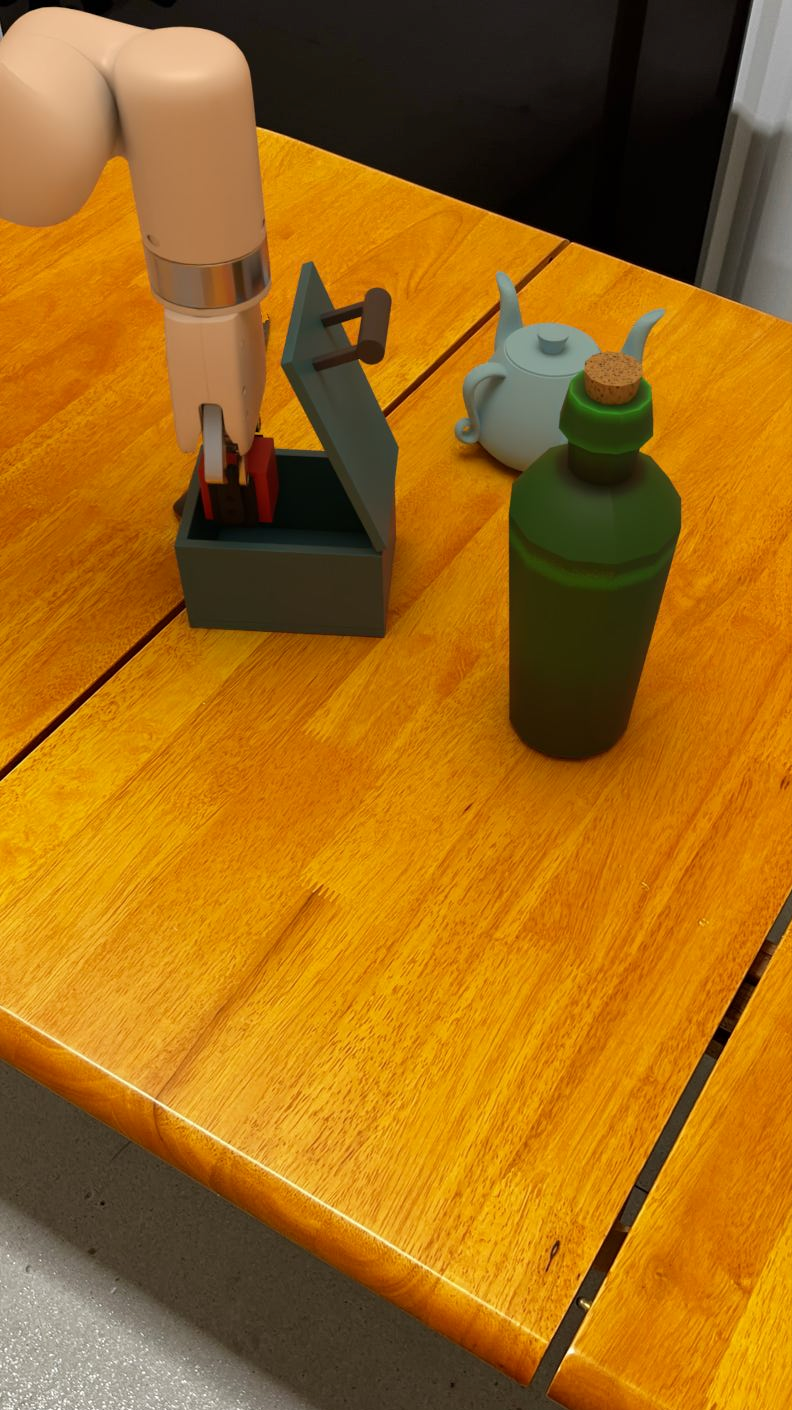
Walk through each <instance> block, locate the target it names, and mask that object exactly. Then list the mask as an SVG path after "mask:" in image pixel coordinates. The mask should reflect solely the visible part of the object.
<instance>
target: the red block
mask: <svg viewBox="0 0 792 1410" xmlns="http://www.w3.org/2000/svg"><path fill="white" fill-rule="evenodd" d="M226 438H230V437H229V435H226ZM274 439H275V438H274V437H270V436H269V437H268V436H263V437H254V439H253V443H252V446H251V448H250V450H249V451H248V452H247V457H248V468H249V477H254V481H255V489H256V497H257V505H258V513H259V522H272V520H273V515H274V510H275V505H276V501H277V496H278V491H279V482H278V473H277V464H276V455H275V448H276V447H275V446H276V445H275V440H274ZM226 462H227V463H228V464H235V465H236V466H237V455H236V453H226ZM237 467H238V466H237ZM198 475H199V481H200V487H201V493H202V499H203V505H204V511H205V517H206V519H210V520H213V514H212V508H211V502H210V496H209V490H208V484H206V482H205V467H204V450H202V454H201V458H200V462H199V466H198Z"/></svg>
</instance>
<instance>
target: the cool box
mask: <svg viewBox="0 0 792 1410" xmlns="http://www.w3.org/2000/svg"><path fill="white" fill-rule="evenodd" d="M202 450H203V443H202V444H200V446H199V450H198V454H197V458H196V462H195V465H194V467H195V469H194V468H193V470H194V473H193V472H192V473H193V476H192V475H191V477H192V480H191V479H190V480H191V484H190V483H189V484H190V488H189V487H188V488H189V492H188V495H187V499H186V503H185V507H184V510H183V514H182V518H181V519H180V522H179V526H178V530H177V533H176V537H175V540H174V545H173V547H174V553H175V559H176V564H177V568H178V573H179V579H180V583H181V588H182V589H181V590H182V595H183V599H184V606H185V609H186V615H187V619H188V620H187V621H188V626H189V628H197V629H214V630H215V629H217V630H236V631H254V632H255V631H256V632H274V633H291V634H292V633H293V634H294V633H295V634H311V635H312V634H313V635H331V636H350V637H351V636H353V637H369V638H370V637H371V638H372V637H373V638H385V636H386V629H387V620H388V612H389V611H388V610H389V603H390V593H391V585H392V575H393V568H394V559H395V550H396V540H397V517H396V516H397V513H396V506H397V505H396V484H395V485H394V494H393V502H392V511H391V519H390V528H389V536H388V545H387V550H384V551H380V552H377V551H376V549H375V547H374V545H373V543H372V542H371V540H370V538H369V536H368V534H367V532H366V530H365V528H364V526H363V524H362V522H361V520H360V518H359V516H358V514H357V512H356V511H355V509H354V507H353V505H352V503H351V501H350V499H349V497H348V495H347V493H346V491H345V489H344V487H343V485H342V483H341V481H340V480H339V478H338V476H337V474H336V472H335V470H334V468H333V466H332V464H331V462H330V460H329V458H328V456H327V454H326V452H325V450H317V449H316V450H315V449H299V448H297V449H296V448H276V447H275V455H276V464H277V473H278V482H279V491H278V496H277V501H276V505H275V510H274V515H273V520H272V522H259V523H258V526H256V527H239V526H220V525H216V524H215V523H214V520H210V519H206V517H205V511H204V505H203V499H202V493H201V487H200V481H199V475H198V466H199V462H200V458H201V454H202Z"/></svg>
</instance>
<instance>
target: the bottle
mask: <svg viewBox="0 0 792 1410" xmlns="http://www.w3.org/2000/svg"><path fill="white" fill-rule="evenodd" d="M643 370H644V366H643V364H642V365H641V364H640V363H639V362H638V361H637V360H636V358H634V357H631V356H629V355H626V354H624V353H620V351H608V350H607V351H602V353H598V354H594V355H592V356H591V357H590V358H589V359H588V360H586V361H585V368H584V370H582V371H581V372H580V373H579V374H577V375H576V376H575V377H574V378H573V379H572V380H571V381H570V384H569V388H568V391H567V394H566V397H565V400H564V403H563V406H562V409H561V412H560V419H559V429H560V430H561V432H562V433H563V434H564V435H565V437H566V438H567V439H568V443H567V444H563V445H559V446H555V447H551V448H549V449H548V450H547V451H546V452H545V453H544V454H542V455H541V456H540V457H539V458H538V459H537V460H536V461H534V462H533V463H532V464H531V465H530V466H529V467H528V468H527V469H526V470H525V471H524V472H522V473H521V474H520V475H518V477H517V478H516V479H515V480H514V481H513V482H512V483H511V489H510V490H511V491H510V497H509V507H508V708H509V709H508V716H509V717H508V720H509V721H510V723H511V724H512V726H513V728H514V729H515V731H516V732H517V734H518V736H519V738H520V739H521V740H522V742H523V743H525V744H526V745H527V744H528V745H529V746H531V747H533V748H535V749H536V750H538V751H540V752H541V753H544V754H546V755H547V756H550V757H559V758H569V759H570V758H571V759H585V758H589V757H591V756H594V755H596V754H599V753H600V754H601V753H602V752H605V751H609V750H611V749H612V747H613V746H614V745H615V744H616V743H617V742H618V741H619V739H620V738H621V737H622V736H623V735H624V734H625V732H626V731H627V729H628V726H629V722H630V718H631V716H632V715H631V714H632V711H633V707H634V705H635V700H636V696H637V692H638V689H639V685H640V682H641V678H642V675H643V671H644V667H645V663H646V661H647V655H648V652H649V648H650V646H651V645H650V644H651V641H652V637H653V633H654V630H655V626H656V624H657V623H656V622H657V619H658V615H659V611H660V607H661V604H662V601H663V597H664V594H665V589H666V585H667V582H668V578H669V575H670V571H671V568H672V565H673V564H672V563H673V560H674V556H675V552H676V549H677V545H678V542H679V539H680V534H681V531H682V497H681V495H680V494H679V492H678V490H677V489H676V487H675V485H674V483H673V482H672V480H671V479H670V477H669V476H668V475H667V474H666V472H665V471H664V470H663V469H662V468H661V466H660V465H659V464H658V463H657V461H656V460H654V458H653V457H652V456H651V455H649V454H646V453H645V452H642V451H640V450H641V448H643V446H644V445H645V444H646V443H648V442H649V441H650V440H651V439H652V438H653V437H654V408H653V407H654V406H653V405H654V404H653V392H652V391H653V390H652V389H653V388H652V385H651V384H650V383H649V382H648V381H647V380H646V379H645V378H644V377H643V375H644V374H643V373H644V371H643Z"/></svg>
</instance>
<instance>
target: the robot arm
mask: <svg viewBox="0 0 792 1410" xmlns="http://www.w3.org/2000/svg"><path fill="white" fill-rule="evenodd" d="M257 132H258V131H257V122H256V112H255V102H254V92H253V84H252V76H251V71H250V67H249V64H248V60H246V56H245V55H244V53H243V52H242V50H241V49H240V48H239V47H238V45H237V44H236V43H235V42H234V41H232V40H231V39H230V38H228V37H226V36H225V35H223V34H221V33H219V32H216V31H213V30H209V29H205V28H199V27H191V26H171V27H170V26H169V27H163V28H155V29H149V28H146V27H140V26H136V25H132V24H128V23H124V22H121V21H118V20H114V19H110V18H106V17H103V16H100V15H96V14H94V13H93V14H92V13H89V12H85V11H83V10H77V9H71V8H67V7H58V6H49V7H40V8H37V9H34V10H30V11H28V12H26V13H25V14H23V15H21V16H20V17H19V18H18V19H17V20H15V21H14V23H12V24H11V26H10V27H9V28H8V30H7V31H6V33H4V35H3V37H2V38H1V40H0V219H2V220H4V221H6V222H9V223H12V224H14V225H19V226H21V227H27V228H38V229H41V228H49V227H55V226H57V225H59V224H62V223H64V222H66V221H68V220H70V219H71V218H72V217H74V216H76V214H78V213H79V212H80V211H81V210H82V209H83V208H84V206H85V205H86V203H87V202H88V200H89V199H90V197H91V196H92V194H93V192H94V190H95V188H96V186H97V184H98V182H99V180H100V178H101V176H102V174H103V172H104V170H105V167H106V166H107V163H108V162H110V161H111V160H113V159H115V158H117V157H119V158H122V159H124V160H125V161H126V162H127V166H128V171H129V176H130V181H131V188H132V192H133V198H134V203H135V209H136V215H137V220H138V226H139V232H140V237H141V242H142V248H143V254H144V261H145V265H146V266H145V267H146V271H147V276H148V282H149V288H150V292H151V294H152V297H153V298H154V300H155V301H156V302H157V303H159V304H160V305H161V306H162V307H163V308H164V309H163V310H164V311H163V312H164V313H163V315H164V317H163V319H164V320H163V321H164V324H163V325H164V342H165V356H166V357H165V358H166V367H167V375H168V383H169V385H168V386H169V391H170V392H169V393H170V401H171V408H172V416H173V422H174V423H173V424H174V430H175V437H176V444H177V447H178V448H179V450H180V451H181V452H182V453H183V454H188V453H191V454H193V453H195V451H196V448H197V445H198V443H199V438H200V436H201V440H202V444H203V450H204V467H205V482H206V484H208V490H209V496H210V502H211V508H212V514H213V520H214V523H215V524H216V525H220V526H239V527H256V526H258V523H259V513H258V505H257V497H256V489H255V481H254V477H249V468H248V457H247V452H248V451H249V450H250V448H251V446H252V443H253V439H254V437H264V434H261V431H262V418H261V410H262V409H261V408H262V404H263V400H264V394H265V389H266V385H267V384H266V383H267V353H266V347H265V340H264V331H263V322H262V315H261V312H262V309H261V302H262V301H263V300H264V299H265V298H266V297H267V296H268V295H269V293H270V291H271V288H272V283H273V282H272V272H271V262H270V251H269V242H268V241H269V240H268V233H267V232H268V231H267V223H266V222H267V220H266V213H265V203H264V191H263V183H262V171H261V164H260V163H261V162H260V153H259V152H260V151H259V143H258V133H257ZM256 433H257V434H256ZM258 433H259V434H258ZM226 435H229V437H230V438H226ZM226 453H236V455H237V466H238V467H237V466H236V465H235V464H228V463H227V462H226Z"/></svg>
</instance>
